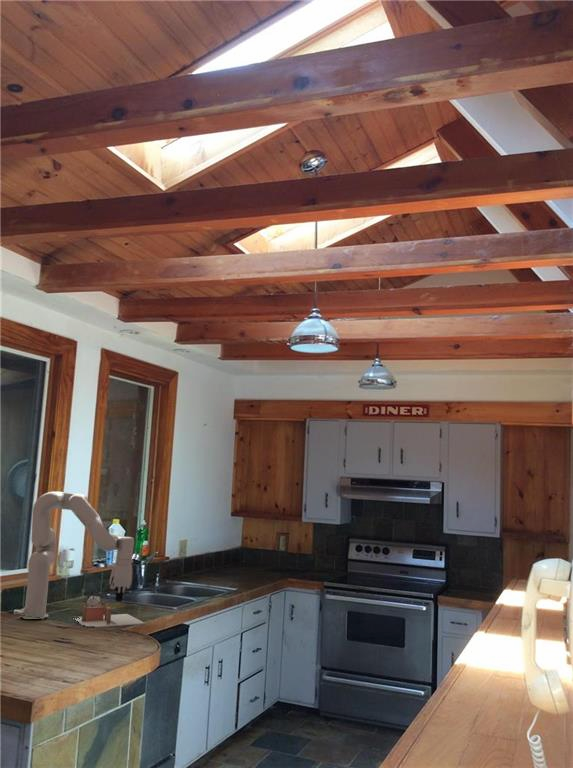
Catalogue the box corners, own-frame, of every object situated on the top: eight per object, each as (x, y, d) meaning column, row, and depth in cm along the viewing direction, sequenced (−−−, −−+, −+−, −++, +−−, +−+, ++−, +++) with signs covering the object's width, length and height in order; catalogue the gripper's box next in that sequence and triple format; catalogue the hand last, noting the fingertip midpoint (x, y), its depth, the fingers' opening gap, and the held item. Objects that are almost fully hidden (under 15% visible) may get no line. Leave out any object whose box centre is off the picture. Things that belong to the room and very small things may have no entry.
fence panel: (105, 619, 319) (106, 604, 320) (108, 619, 320) (110, 604, 321) (106, 623, 309) (107, 608, 310) (110, 623, 310) (111, 608, 311)
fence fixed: (82, 621, 314) (83, 606, 315) (80, 620, 315) (82, 605, 316) (109, 619, 321) (110, 604, 322) (108, 618, 322) (109, 603, 324)
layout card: (86, 628, 302) (86, 627, 302) (71, 618, 322) (71, 617, 322) (144, 623, 317) (144, 622, 317) (127, 614, 337) (127, 613, 337)
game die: (95, 618, 343) (108, 601, 347) (92, 615, 335) (105, 598, 340) (82, 608, 345) (95, 591, 349) (78, 604, 337) (92, 588, 342)
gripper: (131, 561, 334) (127, 598, 331) (106, 561, 323) (100, 600, 320) (140, 563, 329) (135, 601, 326) (114, 563, 318) (109, 603, 315)
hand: (118, 600), depth 323 cm, fingers closed
